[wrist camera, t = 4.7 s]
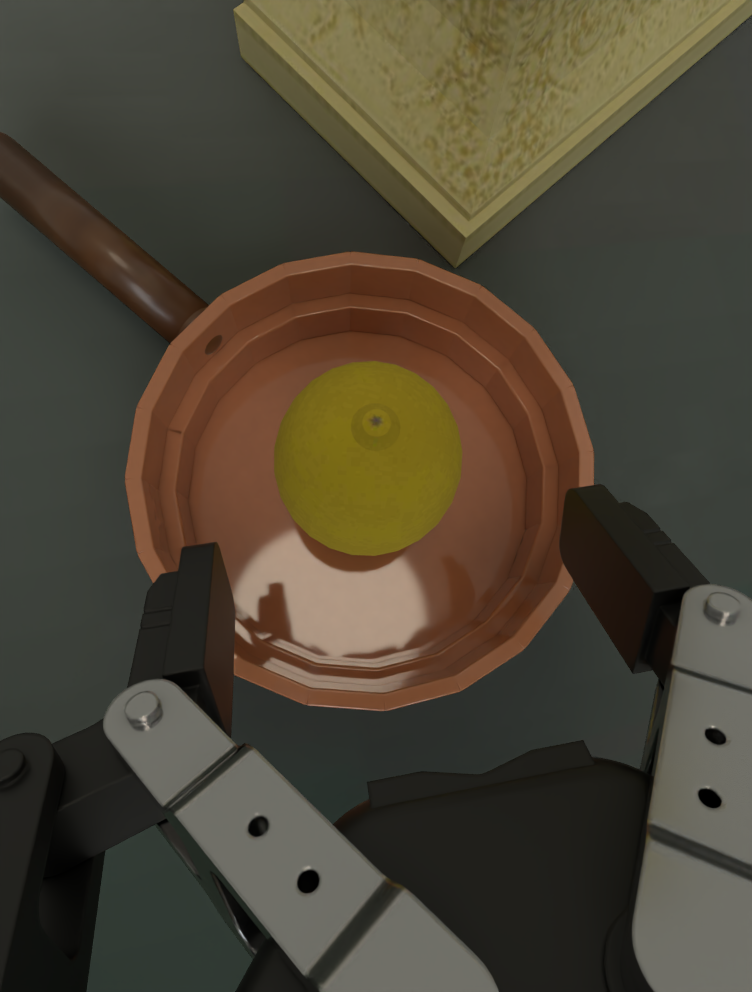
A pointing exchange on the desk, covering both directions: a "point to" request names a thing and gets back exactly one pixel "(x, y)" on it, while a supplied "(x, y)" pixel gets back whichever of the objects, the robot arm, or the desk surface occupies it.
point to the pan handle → (97, 244)
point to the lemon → (368, 458)
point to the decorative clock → (473, 90)
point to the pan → (337, 575)
